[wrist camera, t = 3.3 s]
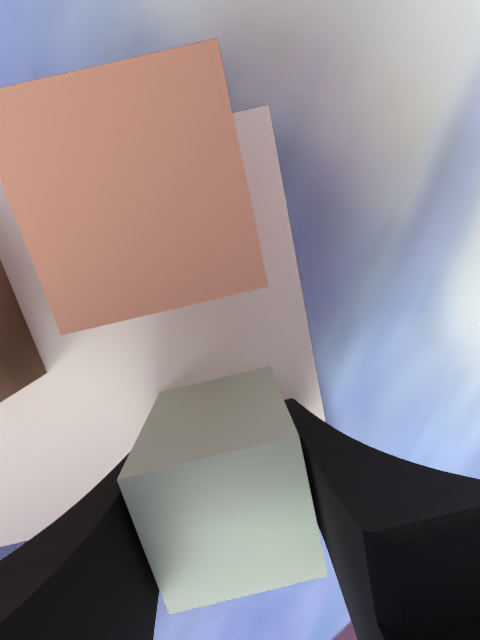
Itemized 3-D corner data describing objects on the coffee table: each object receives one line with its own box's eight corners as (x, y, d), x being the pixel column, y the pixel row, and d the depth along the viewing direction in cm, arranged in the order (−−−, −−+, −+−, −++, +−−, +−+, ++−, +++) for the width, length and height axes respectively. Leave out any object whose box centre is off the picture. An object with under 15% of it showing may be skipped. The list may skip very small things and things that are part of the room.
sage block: (289, 460, 12) (328, 576, 7) (189, 484, 12) (169, 614, 7) (269, 366, 11) (298, 435, 6) (159, 392, 11) (116, 479, 6)
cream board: (325, 451, 13) (333, 466, 12) (-52, 542, 13) (-75, 565, 12) (263, 120, 10) (268, 104, 9) (-231, 234, 10) (-282, 231, 9)
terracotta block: (249, 275, 10) (268, 286, 6) (131, 303, 10) (61, 335, 6) (220, 144, 9) (216, 38, 5) (89, 174, 9) (-33, 95, 5)
